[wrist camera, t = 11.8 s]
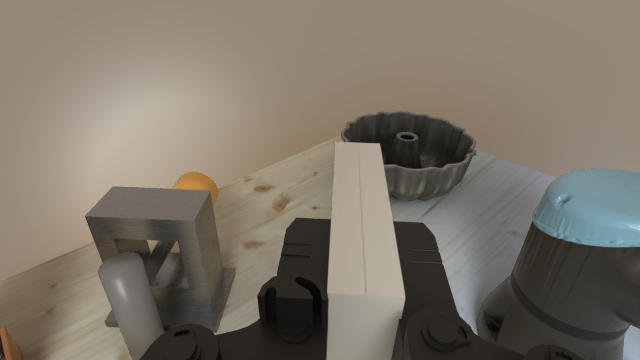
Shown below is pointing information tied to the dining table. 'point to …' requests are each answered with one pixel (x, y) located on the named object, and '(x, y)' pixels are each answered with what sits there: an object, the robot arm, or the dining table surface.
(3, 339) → the whiskey bottle
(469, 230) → the dining table surface
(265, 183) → the dining table surface
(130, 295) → the plug
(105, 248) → the frame
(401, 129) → the bundt pan
